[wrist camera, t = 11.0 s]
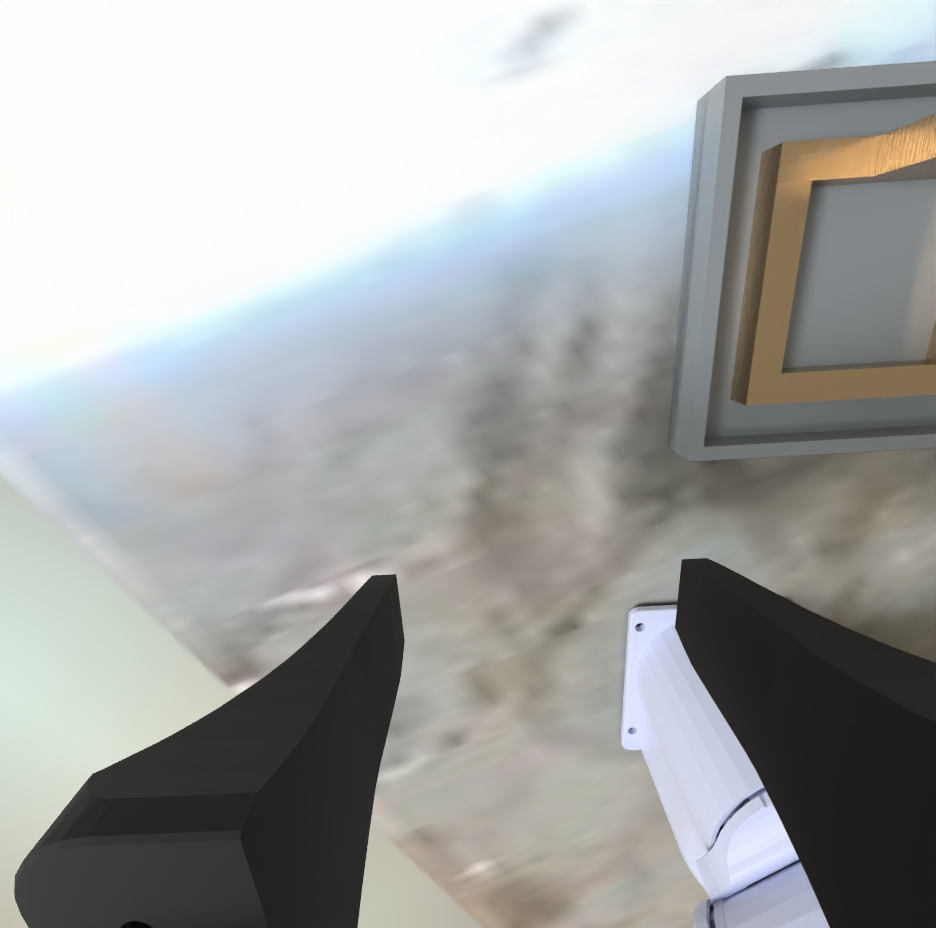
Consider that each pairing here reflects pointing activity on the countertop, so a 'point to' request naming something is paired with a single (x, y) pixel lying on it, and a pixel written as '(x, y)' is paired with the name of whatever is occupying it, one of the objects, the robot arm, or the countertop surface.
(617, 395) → the countertop surface
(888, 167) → the wooden frame with post
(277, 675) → the robot arm
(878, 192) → the tray
